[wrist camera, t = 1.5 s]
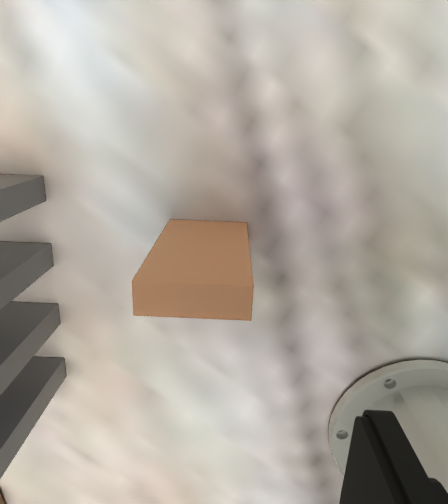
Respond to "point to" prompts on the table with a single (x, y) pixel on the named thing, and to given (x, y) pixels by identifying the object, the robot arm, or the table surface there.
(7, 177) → the domino
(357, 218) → the table surface
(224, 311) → the domino
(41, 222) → the table surface
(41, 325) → the domino
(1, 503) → the wooden block
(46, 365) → the domino
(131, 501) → the table surface
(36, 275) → the domino
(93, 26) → the table surface
